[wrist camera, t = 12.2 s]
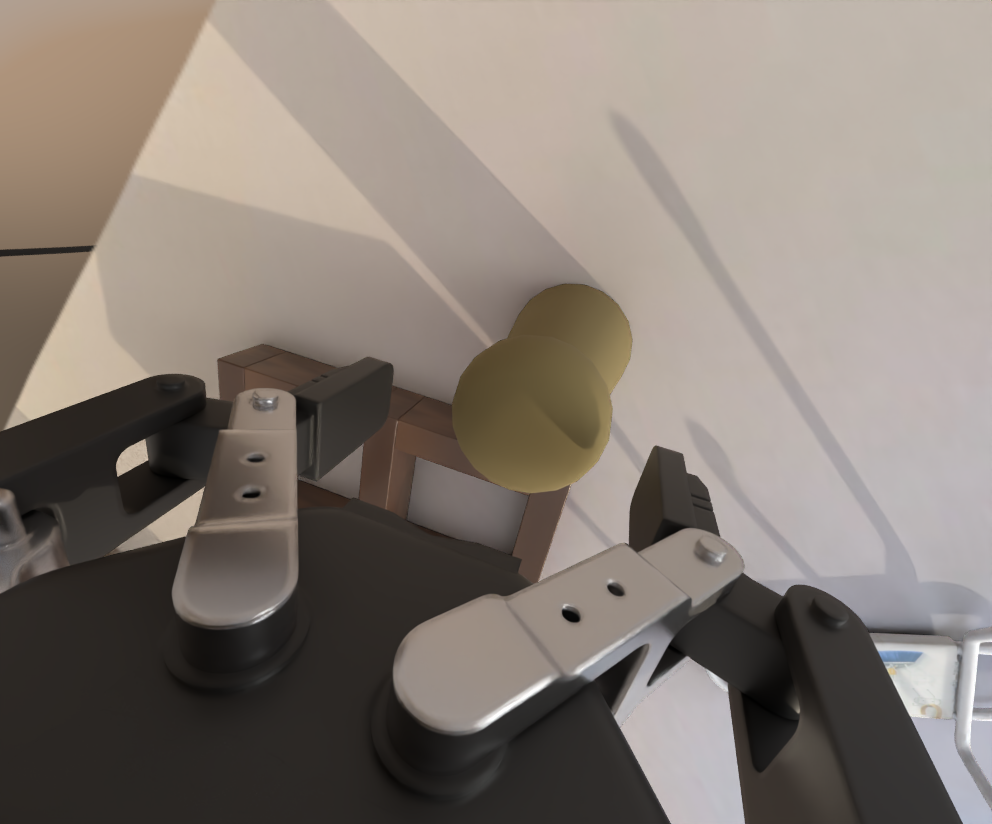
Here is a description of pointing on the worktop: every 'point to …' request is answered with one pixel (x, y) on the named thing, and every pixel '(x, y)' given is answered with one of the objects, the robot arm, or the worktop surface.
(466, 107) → the worktop surface
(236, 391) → the stand
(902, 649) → the wall mount rack
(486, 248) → the worktop surface
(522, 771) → the robot arm
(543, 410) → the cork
